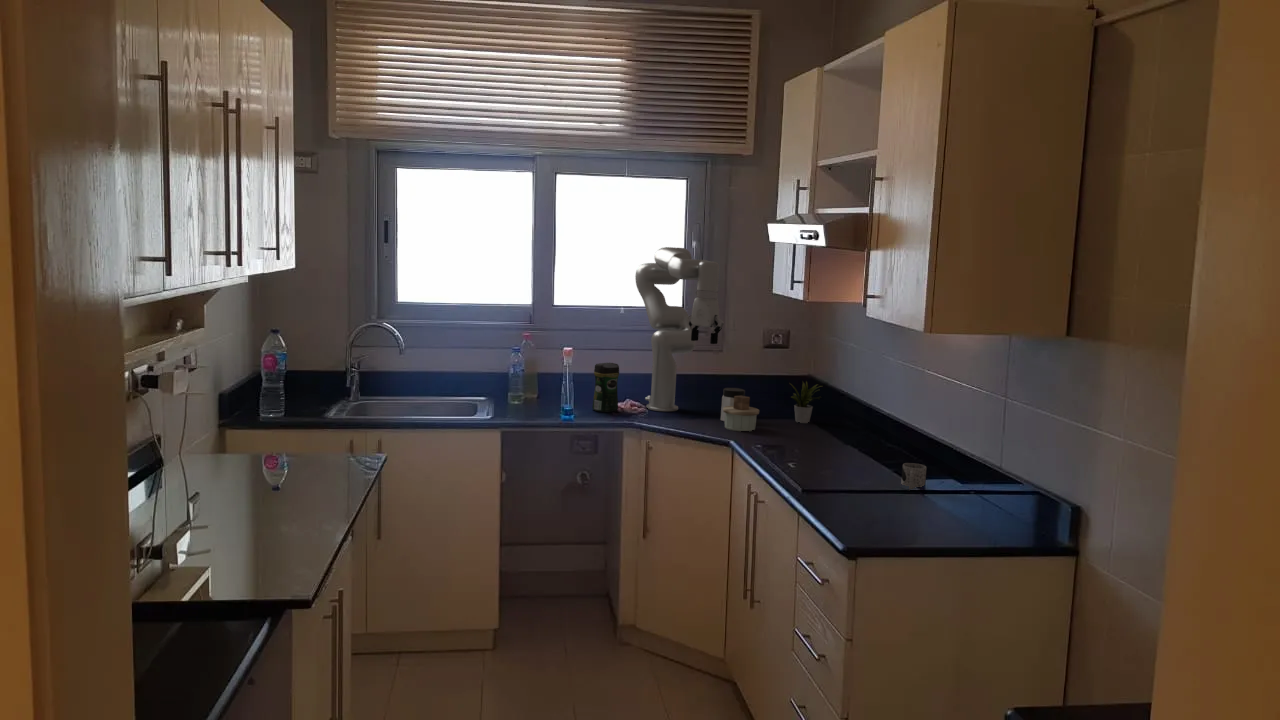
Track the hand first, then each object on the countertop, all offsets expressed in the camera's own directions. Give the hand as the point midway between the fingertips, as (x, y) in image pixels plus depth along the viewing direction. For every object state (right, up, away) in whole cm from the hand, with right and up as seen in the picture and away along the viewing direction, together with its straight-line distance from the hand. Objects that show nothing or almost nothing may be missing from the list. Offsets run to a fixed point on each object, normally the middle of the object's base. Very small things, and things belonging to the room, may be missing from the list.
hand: (704, 342), depth 359 cm
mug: (+55, -44, -76) cm, 103 cm away
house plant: (+40, -31, +18) cm, 53 cm away
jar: (+11, -30, +13) cm, 34 cm away
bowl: (+13, -31, -1) cm, 34 cm away
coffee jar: (-37, -26, +20) cm, 50 cm away
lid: (+13, -26, -1) cm, 29 cm away
